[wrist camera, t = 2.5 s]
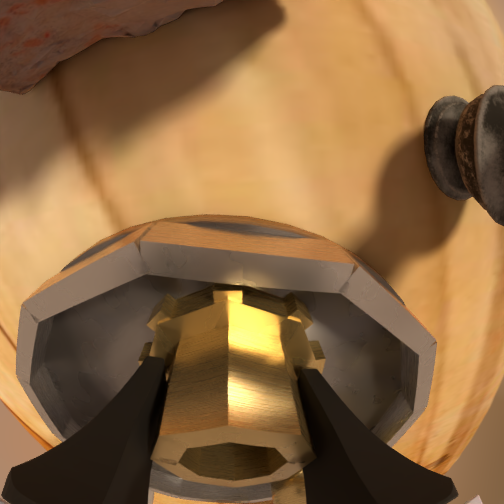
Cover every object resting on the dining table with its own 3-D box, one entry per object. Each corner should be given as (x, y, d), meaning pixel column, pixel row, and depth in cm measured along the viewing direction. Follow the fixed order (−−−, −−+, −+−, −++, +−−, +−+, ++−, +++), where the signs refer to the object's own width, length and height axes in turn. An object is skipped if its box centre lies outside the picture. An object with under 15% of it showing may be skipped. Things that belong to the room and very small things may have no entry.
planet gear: (329, 373, 12) (362, 465, 7) (198, 411, 13) (192, 498, 8) (284, 246, 9) (333, 351, 4) (117, 311, 10) (62, 411, 5)
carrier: (404, 425, 18) (430, 479, 12) (172, 482, 20) (167, 532, 14) (373, 127, 9) (510, 127, 3) (-9, 310, 11) (-61, 368, 5)
